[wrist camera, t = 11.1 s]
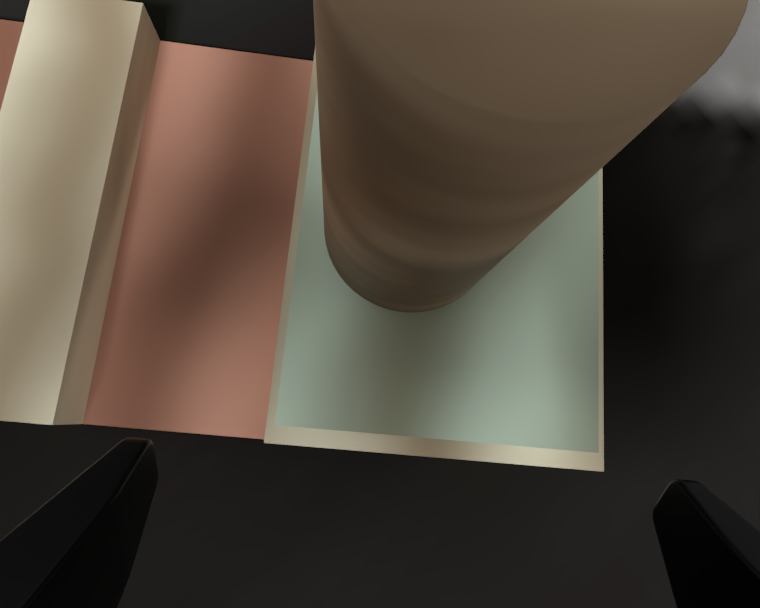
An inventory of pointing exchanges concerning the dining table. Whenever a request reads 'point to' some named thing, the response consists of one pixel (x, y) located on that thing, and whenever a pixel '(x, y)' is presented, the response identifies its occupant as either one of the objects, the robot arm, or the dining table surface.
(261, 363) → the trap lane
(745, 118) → the dining table surface
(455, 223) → the walnut cylinder
